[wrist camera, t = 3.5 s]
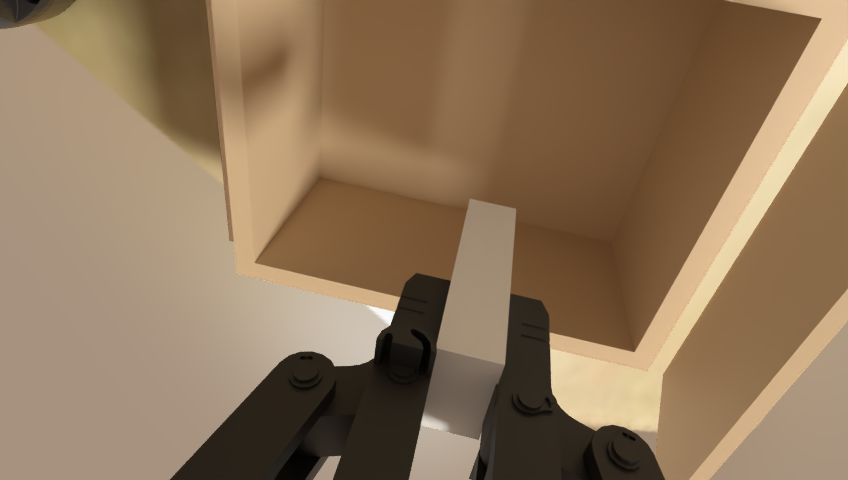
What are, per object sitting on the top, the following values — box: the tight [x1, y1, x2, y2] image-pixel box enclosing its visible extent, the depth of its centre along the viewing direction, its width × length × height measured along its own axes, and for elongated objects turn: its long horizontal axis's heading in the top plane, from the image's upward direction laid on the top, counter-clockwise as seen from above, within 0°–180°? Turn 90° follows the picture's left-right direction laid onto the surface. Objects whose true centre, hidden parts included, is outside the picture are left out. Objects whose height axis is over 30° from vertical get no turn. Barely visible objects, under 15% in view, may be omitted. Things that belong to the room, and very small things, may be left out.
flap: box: [655, 84, 848, 480], centre depth 16 cm, size 8×14×1 cm
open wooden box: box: [206, 0, 848, 371], centre depth 25 cm, size 22×18×10 cm
